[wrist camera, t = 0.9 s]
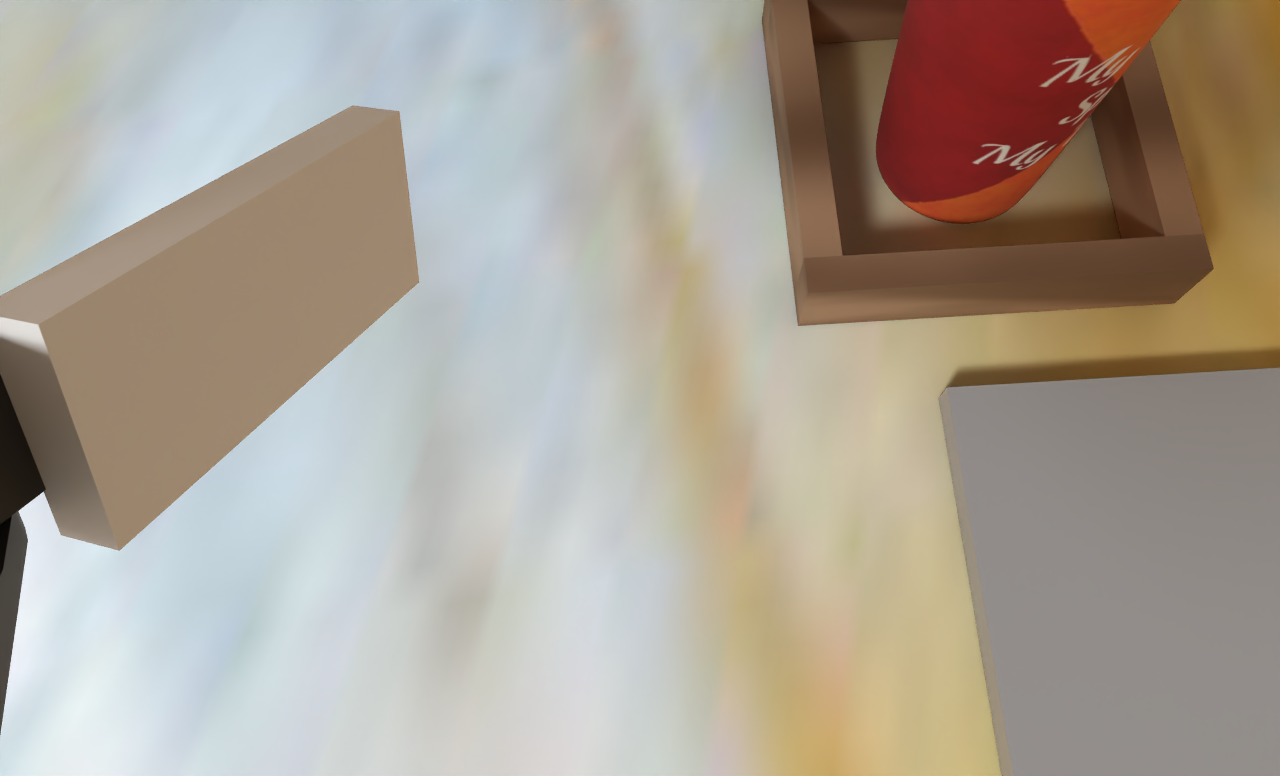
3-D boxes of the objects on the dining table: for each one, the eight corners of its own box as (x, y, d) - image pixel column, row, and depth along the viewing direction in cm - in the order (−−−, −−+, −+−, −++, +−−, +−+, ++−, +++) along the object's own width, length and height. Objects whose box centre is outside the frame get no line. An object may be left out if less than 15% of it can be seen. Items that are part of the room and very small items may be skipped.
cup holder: (761, 20, 37) (768, -29, 35) (1095, -1, 37) (1124, -51, 35) (798, 325, 33) (808, 293, 30) (1174, 302, 33) (1213, 268, 30)
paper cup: (1011, 290, 33) (1240, -13, 20) (806, 189, 35) (892, -155, 21) (1101, 117, 35) (1361, -259, 22) (904, 29, 37) (1038, -372, 24)
